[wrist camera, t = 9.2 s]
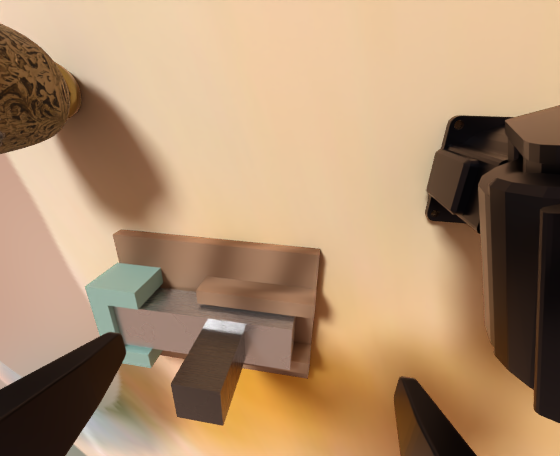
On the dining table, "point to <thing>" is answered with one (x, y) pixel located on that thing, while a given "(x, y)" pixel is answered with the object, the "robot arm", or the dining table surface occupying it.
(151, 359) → the socket block
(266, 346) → the grey t-shaped block
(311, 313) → the slide base
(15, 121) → the cup
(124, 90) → the dining table surface
